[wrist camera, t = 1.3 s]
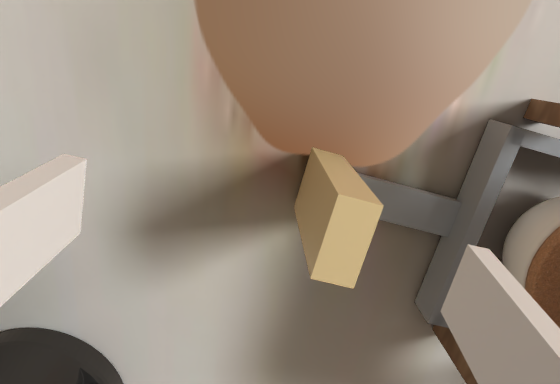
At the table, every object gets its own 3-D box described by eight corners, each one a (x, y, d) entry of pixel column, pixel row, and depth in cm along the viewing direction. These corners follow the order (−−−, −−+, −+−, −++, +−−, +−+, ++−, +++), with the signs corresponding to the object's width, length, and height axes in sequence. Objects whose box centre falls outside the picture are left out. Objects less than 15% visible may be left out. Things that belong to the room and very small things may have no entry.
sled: (590, 343, 41) (718, 454, 30) (274, 269, 38) (282, 364, 26) (683, 175, 37) (874, 231, 25) (334, 73, 33) (374, 84, 22)
